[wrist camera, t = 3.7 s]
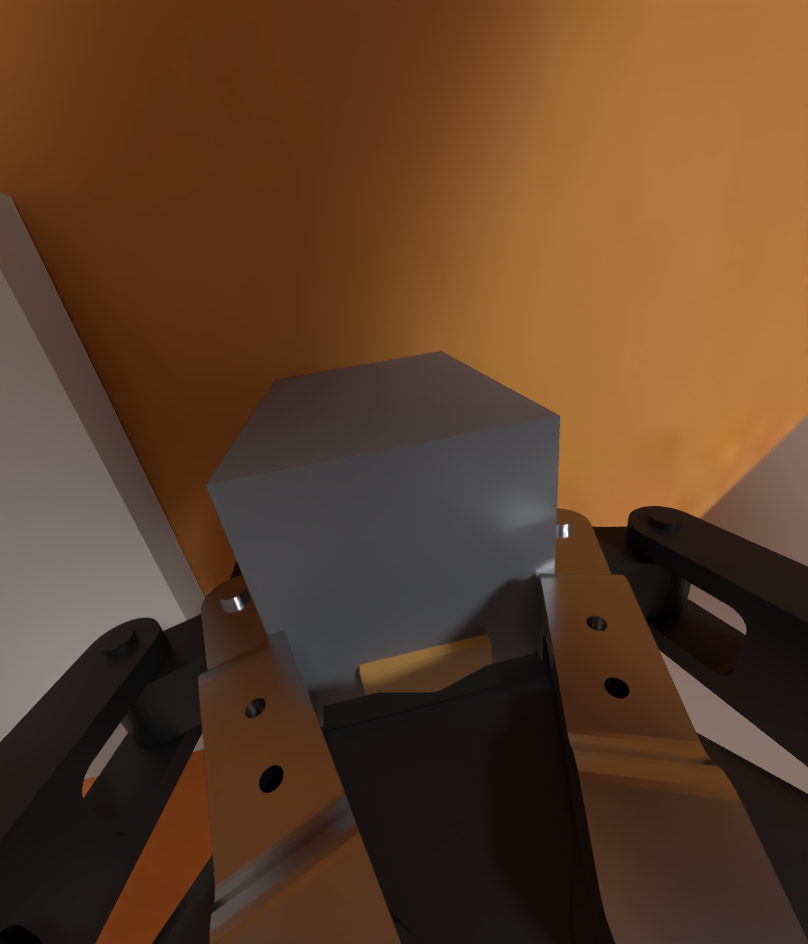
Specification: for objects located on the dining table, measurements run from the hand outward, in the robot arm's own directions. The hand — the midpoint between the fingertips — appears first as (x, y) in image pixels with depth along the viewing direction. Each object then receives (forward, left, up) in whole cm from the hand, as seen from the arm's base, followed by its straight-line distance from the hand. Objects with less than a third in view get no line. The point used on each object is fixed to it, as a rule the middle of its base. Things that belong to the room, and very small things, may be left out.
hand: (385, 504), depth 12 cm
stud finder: (0, 0, -1) cm, 1 cm away
